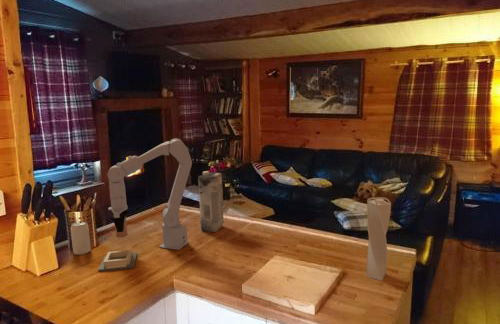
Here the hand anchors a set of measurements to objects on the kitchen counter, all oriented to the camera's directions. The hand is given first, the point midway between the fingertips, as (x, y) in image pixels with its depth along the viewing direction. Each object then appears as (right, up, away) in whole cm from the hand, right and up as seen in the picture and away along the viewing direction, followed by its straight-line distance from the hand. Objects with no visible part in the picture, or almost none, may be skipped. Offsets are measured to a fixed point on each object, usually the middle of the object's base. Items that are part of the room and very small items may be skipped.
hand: (121, 229), depth 146 cm
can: (-17, -10, +2) cm, 19 cm away
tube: (0, -2, 0) cm, 2 cm away
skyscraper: (+93, -11, -23) cm, 97 cm away
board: (+2, -11, -8) cm, 14 cm away
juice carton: (+34, -4, +25) cm, 42 cm away
